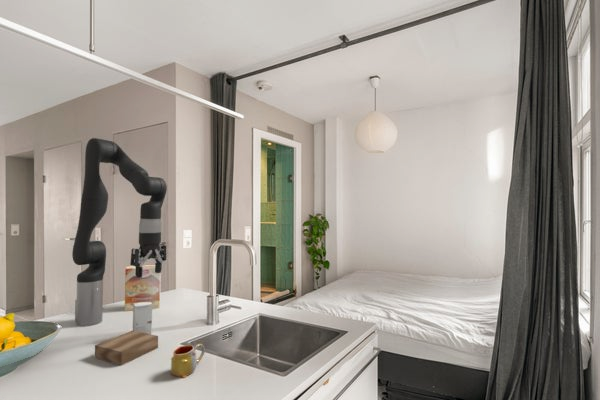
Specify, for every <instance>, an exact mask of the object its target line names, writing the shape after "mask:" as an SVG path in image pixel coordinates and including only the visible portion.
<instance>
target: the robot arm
mask: <svg viewBox="0 0 600 400" xmlns="http://www.w3.org/2000/svg"><path fill="white" fill-rule="evenodd" d="M84 157H85V158H84V178H83V186H82V193H81V200H80V209H79V218H78V224H77V230H76V234H75V237H74V243H73V246H72V253H71V254H72V255H71V256H72V260H73V263H74V264H75V265H77V266H83V265H84V266H85V265H88V267H87V268H86V269H84V270H83V271H81V272H80V273H78V274H77V276H76V299H75V301H74V303H75V304H74V306H75V307H74V323H75V324H76V326H78V327H79V326H80V327H82V326H83V327H85V326H86V327H87V326H88V327H89V326H93V325H96V324H99V323H101V322H102V321H103V313H104V311H103V310H104V308H103V307H104V275H105V272H106V261H107V248H106V244H105V243H104V242H103V241H101V240H91V237H92V234H93V232H94V229H95V228H96V227H97V225H98V224H99V222H101V220H102V219H103V218H104V216H105V215H106V213H107V209H108V201H109V193H108V190H107V188H106V186H105V184H104V182H103V180H102V179H101V178H102V177H101V174H100V173H101V172H100V163H104V164H112V165H115V166H117V167H118V171H119V173H120V175H121V176H122V177H123V178H124V179H125V180H127V181H128V182H129V183H130V184H132V187H133V188H134V189H135V191H136V192H137V194H140V195H141V196H144V197H147V196H148V197H150V198H149V201H146V202H143V203H142V204H141V205H140V211H139V212H140V213H139V214H140V216H139V217H140V219H139V225H138V226H139V227H138V244H139V248H133V247H132V248H131V250H130V251H131V252H130V253H131V254H130V265H129V266H135V267H136V273H135V275H136V277H139V278H141V277H142V271H143V267H142V266H143V265H144V264H145V263H146V262H147V261H148V260H151V259H153V260H154V262H155V264H154V265H155V273H161V272H162V267H163V266H162V263H164V262H165V261H166V260H167V245H166V244H161V242H162V207H163V203H164V202H165V197H166V195H167V190H168V186H167V182H166V181H165V179H164V178H163V177H157V176H150V175H149V172H148V171H147V170H146V169H144V167H142V166H140V165H139V164H138V163H136V162H135V161H134V160H133V159H131V158H130V157H129V155H127V153H126V152H125V151H124V150H123V148H121V147H120V146H119V145H118V144H117V143H116V142H115V141H113V140H107V139H103V138H97V137H93V138H90V139H89V140H88V141H87V143H86V146H85V156H84Z"/></svg>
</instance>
